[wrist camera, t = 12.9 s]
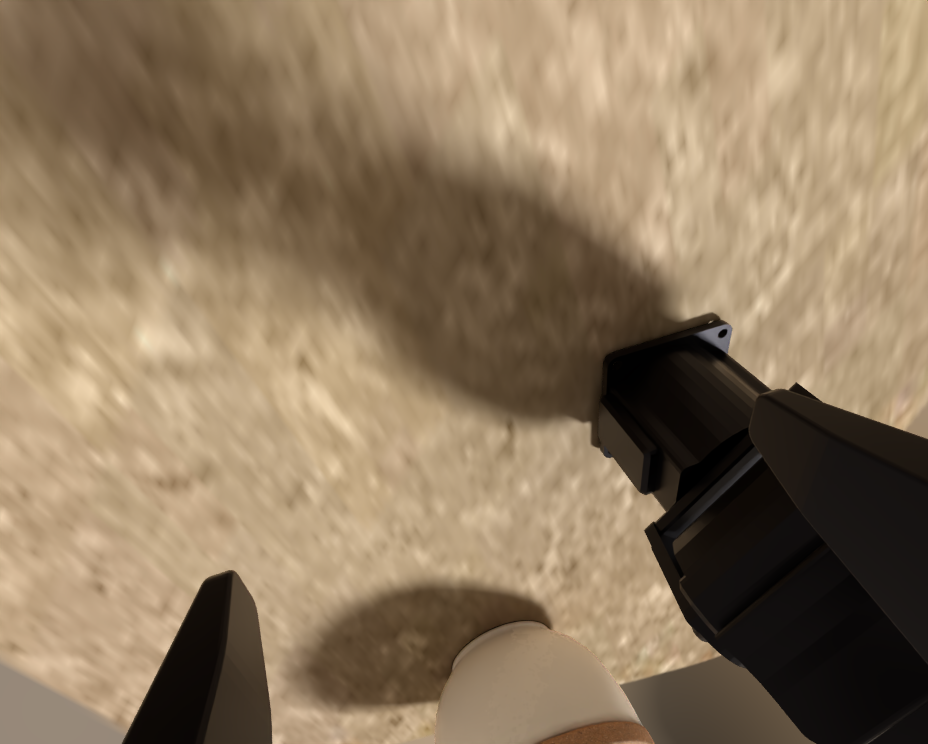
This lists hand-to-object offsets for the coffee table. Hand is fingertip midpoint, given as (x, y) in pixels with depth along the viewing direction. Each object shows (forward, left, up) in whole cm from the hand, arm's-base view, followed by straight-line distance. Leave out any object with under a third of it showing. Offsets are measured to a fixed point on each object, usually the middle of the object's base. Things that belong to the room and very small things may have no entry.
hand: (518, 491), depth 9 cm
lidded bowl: (-2, +32, -13) cm, 35 cm away
